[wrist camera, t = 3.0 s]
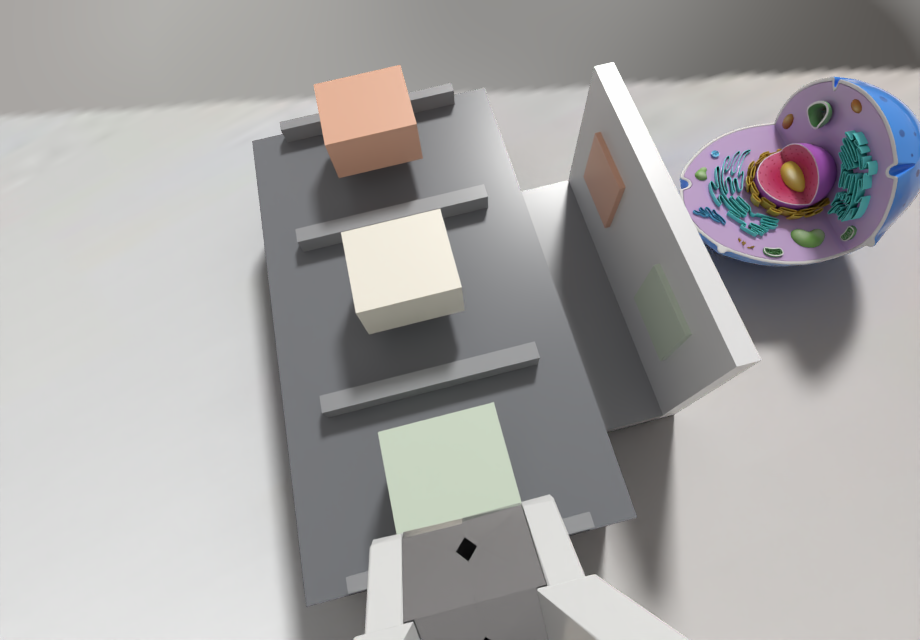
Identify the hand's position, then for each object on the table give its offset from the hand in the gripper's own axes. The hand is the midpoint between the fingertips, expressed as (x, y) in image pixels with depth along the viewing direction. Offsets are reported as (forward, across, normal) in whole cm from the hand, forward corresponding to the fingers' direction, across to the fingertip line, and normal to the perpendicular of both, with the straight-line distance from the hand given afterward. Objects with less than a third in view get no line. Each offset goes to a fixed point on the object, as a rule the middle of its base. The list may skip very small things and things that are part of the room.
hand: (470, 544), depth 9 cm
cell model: (+24, -21, +5) cm, 32 cm away
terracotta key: (+23, +1, -5) cm, 24 cm away
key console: (+22, -2, +6) cm, 23 cm away
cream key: (+17, +1, +1) cm, 17 cm away
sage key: (+11, +1, +7) cm, 13 cm away
